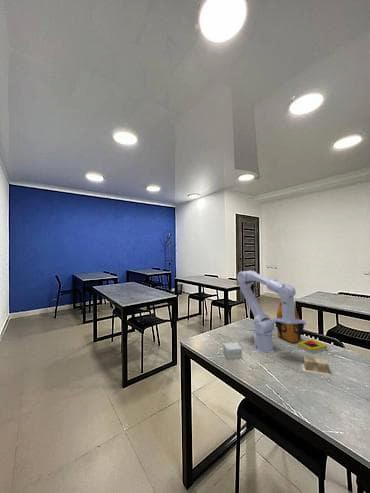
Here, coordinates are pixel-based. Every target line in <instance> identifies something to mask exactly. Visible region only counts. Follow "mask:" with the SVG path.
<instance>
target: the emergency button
mask: <svg viewBox="0 0 370 493" xmlns="http://www.w3.org/2000/svg"><path fill="white" fill-rule="evenodd" d="M295 348H296V349H301V350H302V351H304V352H306V353H308V354H310V355H313V354H319V353H323V352H326V353H327V352H330V351H331V349H330V348H328V345H327V344H324V343H322V342H320V341H318V340H315V339H308V340H303V341H302V340H301V341H300V342H297V346H296V347H295Z"/></svg>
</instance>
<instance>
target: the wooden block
mask: <svg viewBox="0 0 370 493" xmlns="http://www.w3.org/2000/svg"><path fill="white" fill-rule="evenodd" d="M303 364H304V366H305V370H309V371H315V372H322V373H328V374H330V364H329V361H328V360H327V359H323V358H318V357H308V356H303Z"/></svg>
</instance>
